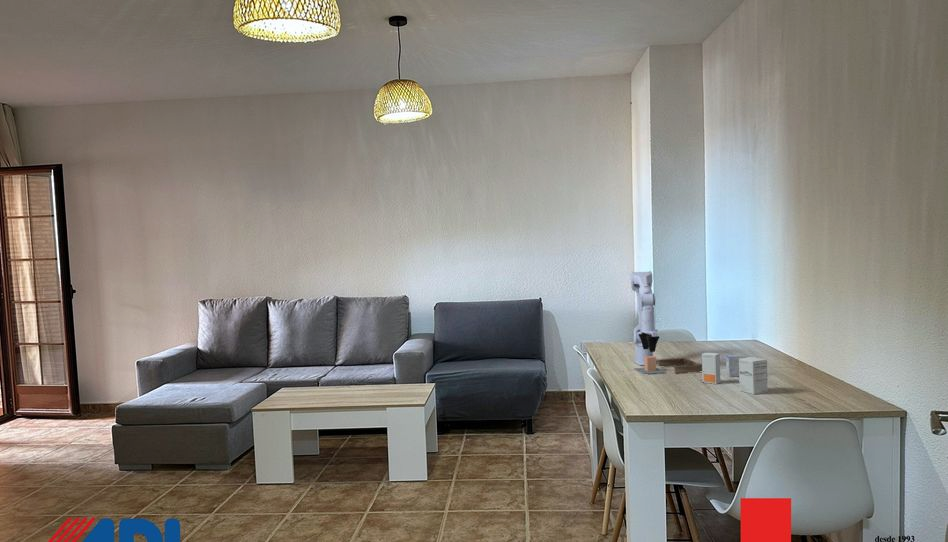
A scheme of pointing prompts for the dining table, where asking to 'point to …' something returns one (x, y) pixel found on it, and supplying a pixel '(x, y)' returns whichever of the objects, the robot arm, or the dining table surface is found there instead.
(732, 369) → the medicine box
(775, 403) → the dining table surface
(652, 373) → the grey mat
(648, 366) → the terracotta block
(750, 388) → the supplement box
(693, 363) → the open side frame
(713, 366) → the skincare box
